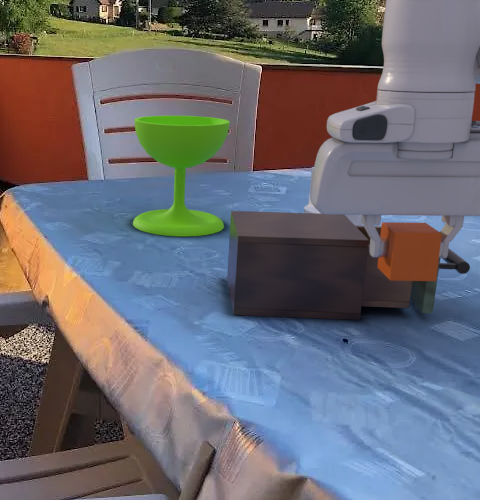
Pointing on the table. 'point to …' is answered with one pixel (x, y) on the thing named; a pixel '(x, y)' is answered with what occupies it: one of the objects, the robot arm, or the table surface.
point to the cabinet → (296, 265)
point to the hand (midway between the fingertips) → (407, 256)
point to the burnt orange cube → (410, 251)
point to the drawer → (403, 283)
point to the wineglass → (180, 168)
